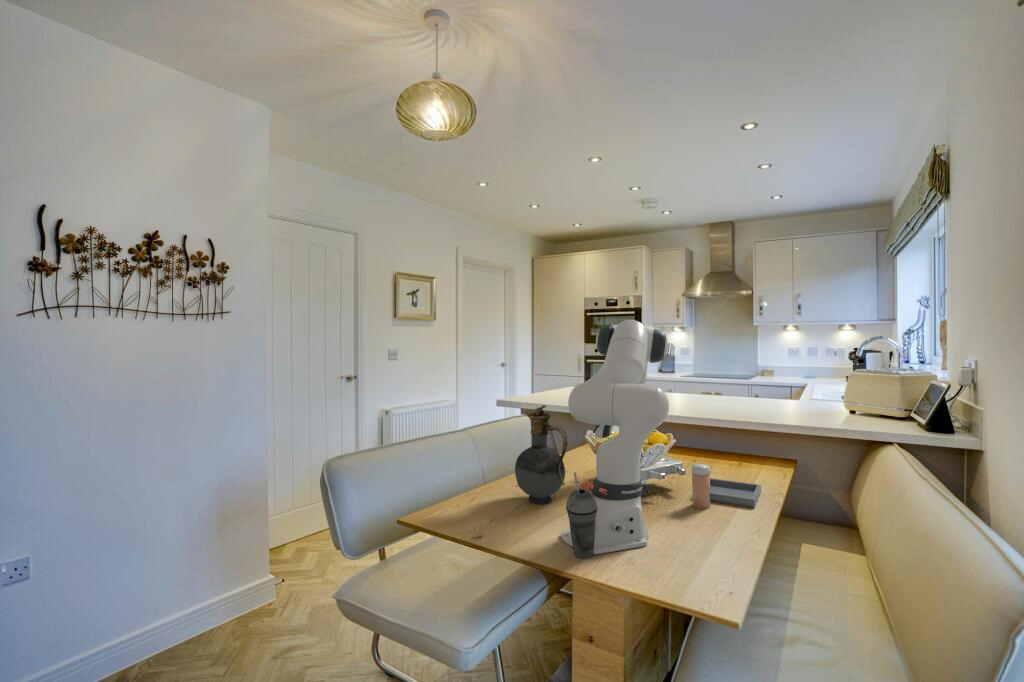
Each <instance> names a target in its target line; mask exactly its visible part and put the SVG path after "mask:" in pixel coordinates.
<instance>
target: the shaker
mask: <svg viewBox="0 0 1024 682" xmlns="http://www.w3.org/2000/svg"><path fill="white" fill-rule="evenodd" d="M710 478H711V466H710V465H709V464H704V463H693V464H691V487H692V490H691V495H692V497H691V498H692V501H691V502H692V506H693V507H694V508H696V507H697V508H696V509H700V508H703V509H702V510H707V508H708V509H710V508H711V501H710Z"/></svg>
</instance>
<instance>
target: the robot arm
mask: <svg viewBox="0 0 1024 682" xmlns="http://www.w3.org/2000/svg"><path fill="white" fill-rule="evenodd" d="M595 345H596V350H597V352H598V353H599V354H600V355H601V356H605V358H604V361H603V364H602V365H601V368H600V369H599V370H598V371H597V372H596V373H595V374H594V375H593V376H592V377H590V378H589V379H588V380H586V381H584V382H582V383H579V384H577V385H575V387H574V388H572V390H571V391H570V394H569V396H568V402H567V404H568V410H569V413H570V415H571V416H572V417H573V419H574V420H576V421H579V422H582V423H584V424H585V423H586V424H589V425H595V426H594V429H593V431H592V432H593V433H595V435H596V437H598V438H604V437H607V436H609V435H612V433H614V432H618V431H619V434H618V435H617V436H615V437H613V438H610V439H608V440H606V441H604V442H603V443H601V444H600V445H599V447H598V449H597V452H595V451H594V449H593V446H592V445H591V443H590V442H589V446H590V450H591V451H592V453H594V454H595V456H596V458H595V459H596V462H595V463H596V477H595V478H594V480H593V482H592V481H589V480H585V481H584V483H583V488H584V489H585V490H587V491H590V493H591V494H592V495H593V496H594V498H595V501H596V504H597V513H596V518H595V537H594V551H593V555H599V554H605V553H611V552H612V553H613V552H617V551H618V552H619V551H624V550H628V549H634V548H641V547H646V546H648V541H647V538H648V531H647V528H646V525H645V524H646V523H645V520H644V514H643V513H644V512H643V507H642V505H643V504H642V498H641V496H642V495H643V484H642V481H646V480H652V479H654V480H656V479H657V480H660V481H662V480H665V479H666V478H665V477H667V476H671V475H677V474H678V475H679V476H685V475H686V474H687V472H686V471H687V470H686V469H685V468H684V465H683V462H682V461H681V460H679V459H676V458H674V457H670V456H666V455H665V456H664V455H663V456H664V457H663V458H662V459H661V460H660V461H658V462H657V463H656V464H654V465H652V466H650V467H647V468H643V469H640V458H641V452H642V449H643V446H644V443H645V441H646V439H647V438H648V437H649V435H650V434H651V433H652V432H653V431H654V430H655V429H657V427H659V426H661V425H662V424H663V423H664V422H665V420H666V419H667V417H668V415H669V412H670V402H669V399H668V396H667V394H666V393H665V391H664V390H663V389H662V388H661V387H658V386H654V385H649V384H646V380H647V375H648V363H650V364H652V363H653V364H654V363H655V364H656V363H661V362H662V361H663V360H664V359H665V357H666V355H667V353H668V350H669V340H668V337H667V334H666V333H665V332H664V331H662V330H660V329H656V328H654V329H653V328H648V327H645V325H643V323H641V322H640V321H638V320H636V319H625V320H623V321H621V322H620V323H618V324H614V323H607V324H606V323H605V324H603V325H602V326H600V328H599V330H598V331H597V333H596V337H595ZM560 534H561V535H560V537H561V539H562V540H563V542H565V543H566V544H567V545H569V546H570V547H572V548H573V544H572V537H571V530H570V527H568V528H567V529H564V530H562V531H561V533H560Z"/></svg>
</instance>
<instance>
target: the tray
mask: <svg viewBox="0 0 1024 682" xmlns="http://www.w3.org/2000/svg"><path fill="white" fill-rule="evenodd" d="M760 493H762V485H761V484H757V483H750V482H742V481H737V480H735V481H734V480H729V479H720V478H712V477H710V502H713V503H718V502H719V504H725V503H727V505H731V504H734V505H733V506H737V505H740V507H744V506H746V507H745V508H750V507H752V508H751V509H755V508H756V506H757V504H758V501H759V499H758V498H760V496H761V494H760ZM756 503H757V504H756Z"/></svg>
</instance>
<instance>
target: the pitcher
mask: <svg viewBox="0 0 1024 682" xmlns="http://www.w3.org/2000/svg"><path fill="white" fill-rule="evenodd" d="M547 406H548V405H546V404H545V405H542V406H540V407H536V408H534V409H533V411H529V412H524V416H526V417H527V418H529V421H530V434H531V436H530V437H531V438H530V439H531V446H530V447H528V448H526V449H524V450H523V451H522V452H521V453H519V455H518V456H517V458H516V460H515V465H514V474H515V475H514V476H515V480H516V482H517V485H518V487H519V489H520V490H522V491H523V493H525V494H526V495H527V500H528V501H529V502H530V503H532V504H534V505H535V504H536V505H546V504H550V503H552V502H553V497H552V496H553V495H554V494H555V493H557V492H558V491H559V490H560V489H561V487H562V486H563V487H564V488H565V485H566V483H565V478H566V468H565V467H566V466H565V464H564V461H563V459H564V457H565V455H566V451H567V448H568V445H569V444H568V436H567V433H566V430H565V429H564V428H563V427H562V426H560V425H558V424H552V425H550V424H549V420H550V418H552V416H551V415H552V412H545V410H544V409H545V408H547ZM549 431H550V432H551V431H557V432H559V434H560V435H561V439H562V442H563V444H562V452H561V455H560V454H559V453H558V451H556V450H555V449H553V448H552V447H549V446H548V434H549Z"/></svg>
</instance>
